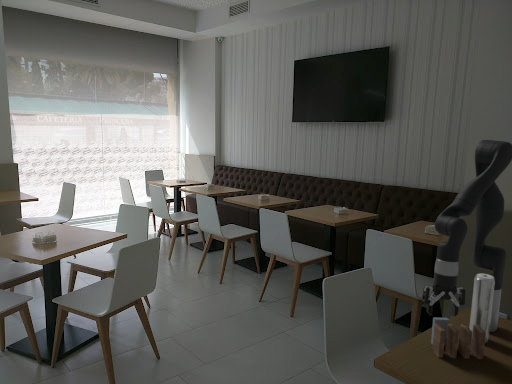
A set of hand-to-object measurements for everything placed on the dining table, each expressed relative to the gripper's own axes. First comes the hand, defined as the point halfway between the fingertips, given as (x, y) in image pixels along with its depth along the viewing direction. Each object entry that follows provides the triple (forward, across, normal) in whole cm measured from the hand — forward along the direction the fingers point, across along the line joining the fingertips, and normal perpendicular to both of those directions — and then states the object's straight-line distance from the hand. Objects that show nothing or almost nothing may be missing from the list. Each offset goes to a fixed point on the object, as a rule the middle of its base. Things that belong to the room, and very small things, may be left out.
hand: (441, 314), depth 142 cm
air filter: (+12, +17, +5) cm, 21 cm away
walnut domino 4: (+12, +10, -6) cm, 17 cm away
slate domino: (+12, 0, 0) cm, 12 cm away
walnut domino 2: (+12, +2, -6) cm, 13 cm away
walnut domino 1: (+12, -3, -6) cm, 14 cm away
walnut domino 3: (+12, +6, -6) cm, 14 cm away
